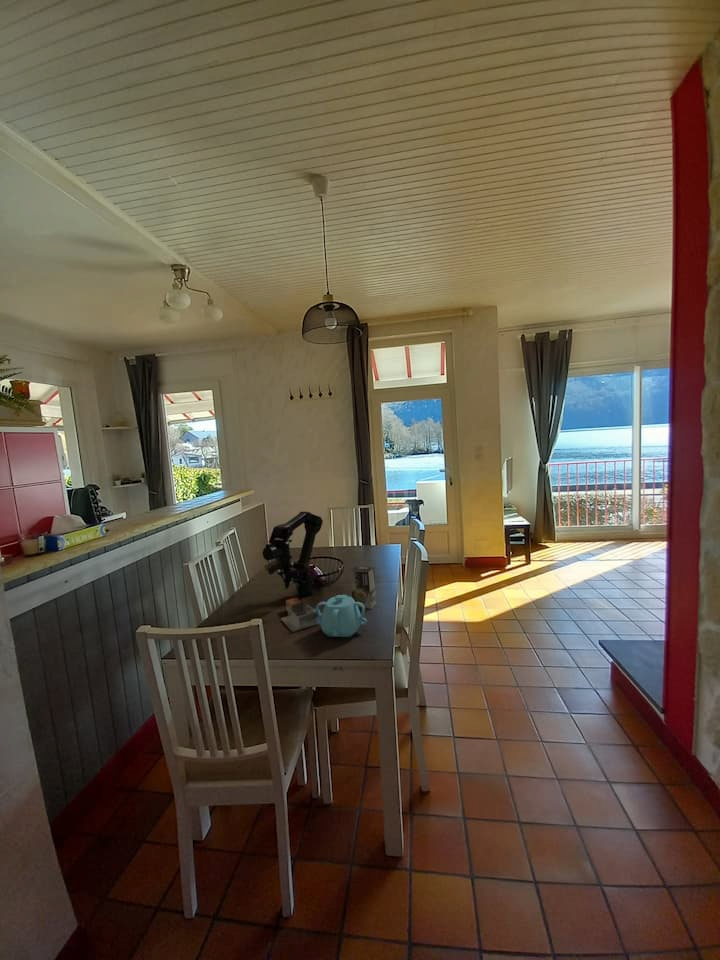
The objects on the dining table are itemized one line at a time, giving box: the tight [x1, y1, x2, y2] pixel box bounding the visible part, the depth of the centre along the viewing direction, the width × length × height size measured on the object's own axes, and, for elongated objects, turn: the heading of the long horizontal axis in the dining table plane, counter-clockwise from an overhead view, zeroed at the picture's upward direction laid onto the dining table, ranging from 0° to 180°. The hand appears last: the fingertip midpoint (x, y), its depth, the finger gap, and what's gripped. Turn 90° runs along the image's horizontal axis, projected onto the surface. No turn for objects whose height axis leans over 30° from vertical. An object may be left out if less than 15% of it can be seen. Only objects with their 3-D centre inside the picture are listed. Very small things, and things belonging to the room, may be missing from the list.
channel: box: [280, 604, 322, 633], centre depth 156 cm, size 15×13×5 cm
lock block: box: [285, 597, 304, 616], centre depth 166 cm, size 5×7×4 cm
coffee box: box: [349, 566, 377, 610], centre depth 167 cm, size 9×6×16 cm
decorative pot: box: [315, 594, 368, 638], centre depth 145 cm, size 16×16×14 cm
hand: (286, 588), depth 173 cm, fingers closed
